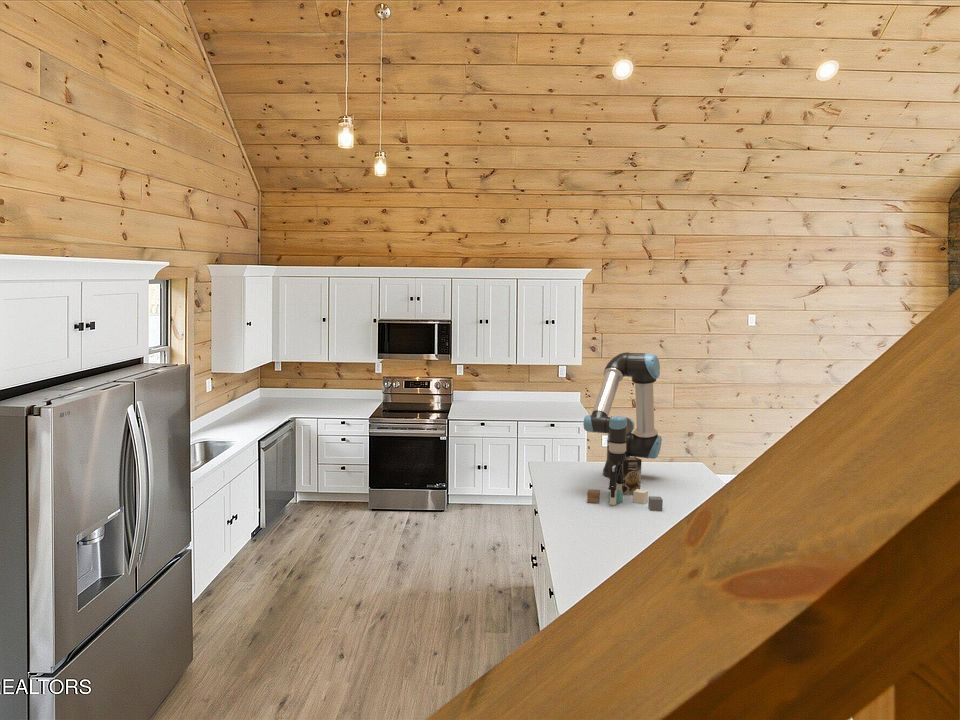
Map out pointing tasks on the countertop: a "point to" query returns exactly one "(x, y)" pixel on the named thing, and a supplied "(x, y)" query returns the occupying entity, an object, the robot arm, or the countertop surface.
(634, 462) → the coffee box
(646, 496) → the cream cube
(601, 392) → the robot arm
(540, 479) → the countertop surface
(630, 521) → the countertop surface
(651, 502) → the charcoal cube
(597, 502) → the walnut cube
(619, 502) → the teal cube
